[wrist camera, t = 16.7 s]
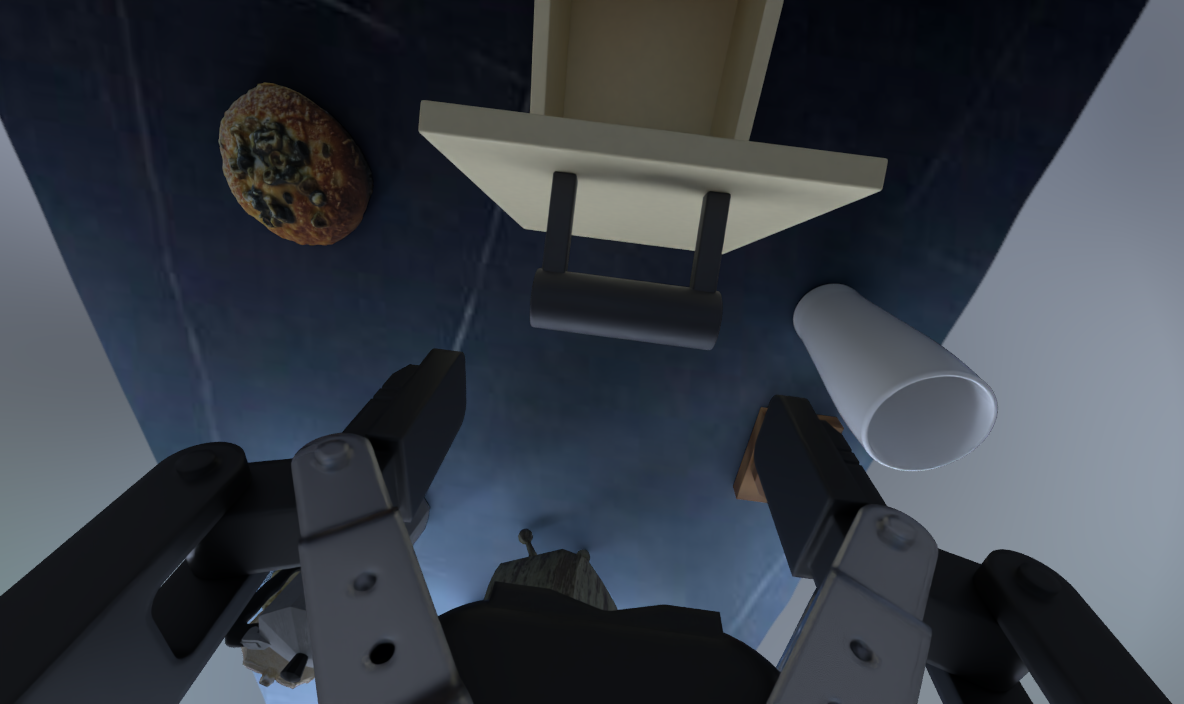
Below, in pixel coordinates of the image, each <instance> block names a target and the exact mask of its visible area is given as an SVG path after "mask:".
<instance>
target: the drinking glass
mask: <svg viewBox="0 0 1184 704" xmlns="http://www.w3.org/2000/svg"><path fill="white" fill-rule="evenodd" d="M793 323H794V328H795V330H796V332H797V334H798V336H799V337H800V338H801V340H802V341H803V343H804V345H805V347H806V349H807V351H808V353H809V355H810V357H811V359H812V361H813V362H814V365H815V367H816V369H817V371H818V373H819V375H820V377H821V379H822V381H823V383H824V385H825V387H826V389H827V391H828V393H829V395H830V397H831V399H832V401H833V403H834V405H835V406H836V408H837V410H838V412H839V413H840V415H841V417H842V418H843V420H844V421H845V423H846V424H847V426H848V427H849V429H850V430H851V431H852V433H853V434H854V436H855V437H856V438H857V440H858V441H859V442H860V443H861V445H862V446H863V447H864V448H865V450H866V451H867V453H868V454H869V455H870V456H871V457H872V458H873V459H874V460H876V461H877V462H879V463H880V464H882V465H884V466H886V467H889V468H892V469H897V470H902V471H923V470H930V469H935V468H939V467H942V466H945V465H948V464H950V463H953V462H955V461H957V460H959V459H961V458H963V457H964V456H966V455H968V454H969V453H970V452H972V451H973V450H974V449H976V448H977V447H978V446H979V445H980V444H981V443H982V442H983V441H984V440H985V439H986V437H987V436H988V435H989V433H990V432H991V430H992V428H993V426H994V424H995V421H996V418H997V413H998V404H997V399H996V396H995V394H994V392H993V390H992V389H991V388H990V386H989V385H988V384H987V383H986V382H984V381H983V380H982V379H981V378H980V377H979V376H978V375H977V374H976V373H974V372H973V371H972V370H971V369H970V368H969V367H968V366H967V365H965V364H964V363H963V362H962V361H961V360H959V359H958V358H957V357H956V356H955V355H953V354H952V353H951V352H949V351H948V350H947V349H945V348H944V347H943V346H941V345H940V344H938V343H937V342H935V341H934V340H932V339H931V338H929V337H928V336H926V335H925V334H923V333H921V332H920V331H918V330H916V329H915V328H913V327H911V326H910V325H908V324H906V323H905V322H903V321H901V320H900V319H898V318H896V317H895V316H893V315H892V314H890V313H888V312H887V311H885V310H883V309H882V308H880V307H878V306H877V305H875V304H874V303H872V302H870V301H869V300H867V299H866V298H864V297H863V296H862V295H860V294H859V293H858V292H857V291H856V290H854V289H853V288H851V287H849V286H846V285H842V284H826V285H822V286H819V287H817V288H815V289H813V290H811V291H810V292H808V293H807V294H806V295H805V296H804V297H803V298H802V299H801V300H800V301H799V303H798V304H797V306H796V309H795V311H794V316H793Z"/></svg>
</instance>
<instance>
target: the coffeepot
mask: <svg viewBox="0 0 1184 704" xmlns="http://www.w3.org/2000/svg"><path fill="white" fill-rule="evenodd" d="M429 510H430V507H429V505H428V503H427V502H426V500H425V499H424V498H423V500H422V502H421V504H420V506H419V508H418V510H417V512H416V514H415V516H414V517H413V519H412V521H411V522H404V524H405V526H406V529H407V532H408V535H409V537H410V540H411V543H412V546H413V545H414V543H415V542H416V540H417V539H418V538H419V536H420V535H421V534H422V532H423V531H424V529H425V528H426V523H427V520H428V516H429ZM298 571H300V572H299V573H298V574H297V575H296V576H295V577H294V578H293V580H292V581H291V582H290V583H289V584H288V585H287V586H286V587H285V588H284V589H283V590H282V591H281V593H280V594H279V595H278V596H277V597H276V598H275V599H274V600H273V601H272V602H271V603H270V604H269V606H268V607H267V608H266V609H265V610H264V611H263V612H262V613H261V614H260V615H259V623H252V624H247V622H248V621H249V620H250V619H251V618H252V617H253V616H254V615H255V614H256V613H257V612H258V611H259V610H260V608H261V607H262V606H263V605H264V604H265V603H266V602H267V601H268V599H270V598H271V597H272V596H273V595H275V594H276V593H277V592H279V591H280V590H281V588H282V587H283V586H284V584H285V583H286V581H287V580H288V579H289V577H290V576H291V575H292V574H294V573H295V572H298ZM225 644H226V645H227V646H229V647H233V648H234V647H247V648H248V649H252V650H265V649H266V648H268V647H270V648H271V649H273V650H274V651H275V652H277V653H278V654H279V655H281V656H282V657H283V658H285V659H286V660H287V661H289V663H288V664H287V665H286V667H285V668H284V669H283V670H282V671H281V672H280V677H281V678H283V679H284V680H285V681H288V682H292V683H296V682H300V680H301V677H302V674H303V672H304V669H305V667H306V666H307V667H311V668H314V666H313V658H312V651H311V643H310V635H309V627H308V620H307V612H306V604H305V596H304V588H303V581H302V573H301V567H295V568H288V569H281V570H280V571H279V572H278V573H277V574H276V575H274V576H273V577H272V578H271V579H270V580H269V581H267V582H266V583H265V584H264V585H263V586H262V587H261V588H260V589H259V590H258V591H257V592H256V593H255V594H254V595H253V597H252V598H251V600H250V601H249V603H248V604H247V606H246V607H245V608H244V610H243V611H242V613H241V614H240V616H239V617H238V619H237V620H236V622H235V623H234V624H233V626H232V627H231V629H230V630H229V632H228V633H227V635H226V636H225Z"/></svg>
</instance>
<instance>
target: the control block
mask: <svg viewBox="0 0 1184 704" xmlns="http://www.w3.org/2000/svg"><path fill="white" fill-rule="evenodd" d="M767 409H768V408H763V407H761V408H760V411H759V414H758V417H757V420H756V423H755V425H754V428H753V431H752V434H751V437H750V440H749V443H748V445H747V448H746V451H745V454H744V457H743V460H742V463H741V465H740V468H739V471H738V474H737V477H736V480H735V483H734V485H733V488H734V492H735V495H736V499H742V500H749V501H757V502H764V503H767V500H766V497H765V494H764V491H763V488H762V485H761V482H760V479H759V476H758V473H757V470H756V467H755V463H754V447H755V442H756V439H757V436H758V434H759V431H760V428H761V425H762V422H763V420H764V417H765V414H766V411H767ZM817 416H818V418H819V419H820V420H826V421H827V422H828V423H829V424H830V425H831V426H833V427H834V428H835V429H836V430H837V431H838V432H840V433H841V434H842V431H843V429H844V428H843V426H842V425H841V423H840V422H839V420H838V418H837V417H832V416H824V415H817Z"/></svg>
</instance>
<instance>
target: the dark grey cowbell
mask: <svg viewBox="0 0 1184 704" xmlns="http://www.w3.org/2000/svg"><path fill="white" fill-rule="evenodd" d="M518 538H519V541H520V542H521V543H522V544H526V546H527V550H528V553H529V557H526V558H522V559H517V560H513V561H509V562H505V563H501V564H500V565H499V566H498V568H497V569H496V570H495V572H494V574H493V576H492V578H491V581H490V583H489V585H488V588H487V591H486V594H485V597H484V600H489V599H490V596H491V593H492V589H493V586H494V582H495V581H498V582H505V583H512V584H520V585H527V586H534V587H541V588H549V589H552V590H554V591H557V592H559V593H562V594H564V595H567V596H569V597H572V598H574V599H577V600H579V601H582V602H584V603H586V604H589V605H591V606H594V607H596V608H599V609H602V610H606V611H614V610H617V607H616V605H615V603H614V601H613V600H612V598H611V596H610V594H609V593H608V591H607V589H606V587H605V586H604V584H603V582H602V581H601V579H600V578H599V576H598V575H597V573H596V572H595V570H594V569H593V567H592V566H591V564H590V563H589V560H590V555H589V552H588V551H587V550H584V549H582V550H579V551H578V552H577V554H575V553H572V552H570V551H567V550H564V549H560V550H556V551H552V552H547V553H543V554H539V555H537V554H536V552H535V550H534V548H533V546H532V544H531V540H532V538H533V535H532V532H531V531H530V530H528V529H523V530H521V531H520V533H519V535H518Z"/></svg>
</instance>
